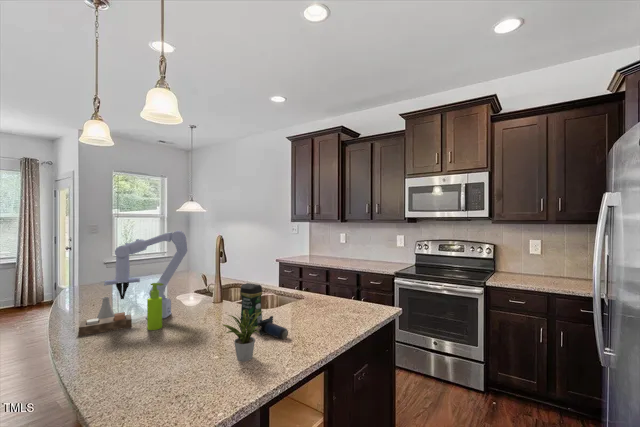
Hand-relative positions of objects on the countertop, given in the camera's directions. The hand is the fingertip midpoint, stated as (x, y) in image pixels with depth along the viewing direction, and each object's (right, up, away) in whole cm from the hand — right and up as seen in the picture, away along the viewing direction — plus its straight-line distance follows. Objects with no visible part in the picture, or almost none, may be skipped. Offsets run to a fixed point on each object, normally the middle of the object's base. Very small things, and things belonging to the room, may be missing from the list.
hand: (122, 298), depth 153 cm
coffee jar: (+64, -10, -7) cm, 65 cm away
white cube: (-4, -10, -14) cm, 18 cm away
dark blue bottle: (+77, -10, -21) cm, 80 cm away
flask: (-11, -11, +4) cm, 16 cm away
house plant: (+69, -10, -41) cm, 81 cm away
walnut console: (0, -10, -11) cm, 15 cm away
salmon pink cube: (+4, -9, -8) cm, 13 cm away
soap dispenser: (+22, -10, -11) cm, 27 cm away
